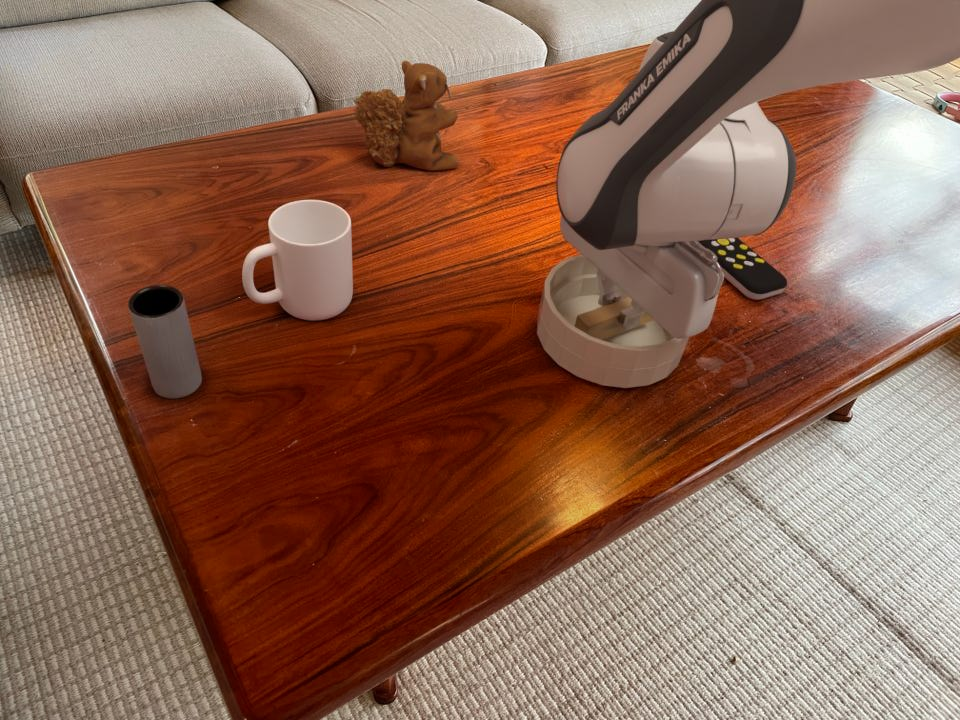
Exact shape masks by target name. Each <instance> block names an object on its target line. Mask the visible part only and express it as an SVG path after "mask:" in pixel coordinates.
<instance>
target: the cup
mask: <svg viewBox="0 0 960 720" xmlns="http://www.w3.org/2000/svg"><path fill="white" fill-rule="evenodd" d="M267 226H268V234H269V235H268V236H269V242H270V243H269V242H268V243H265V244H262V245H259V246H255V247H254V248H253V249H251V250H250V251H249V252H248V253H247V255H246V256H245V258H244V261H243V265H242V271H241V276H242V277H241V278H242V279H241V280H242V286H243V289H244V292H245V294H246V295H247V297H248V299H250V300H252V301H253V302H254V303H257V304H261V305H262V304H263V305H266V304H267V305H268V304H274V303H277V302H278V303H279V305H280V306H281V308H282V309H283V310H284V311H285V312H286V313H287V314H289V315H290V316H292V317H294V318H296V319H301V320H305V321H324V320H328V319H332V318H334V317H336V316H338V315H340V314H342V313H343V312H344V311H345V310H346V309H347V308H348V307H349V306H350V303H351V302H352V300H353V295H354V294H353V293H354V278H353V243H352V242H353V241H352V240H353V239H352V237H353V236H352V219H351V216H350V215H349V213H348V212H347V211H346V210H345V209H344V208H342V207H341V206H339V205H337V204H335V203H333V202H330V201H325V200H320V199H302V200H295V201H291V202H288V203H285V204H283V205H281V206H279V207H277V208H276V209H275V210H274V211H272V213H271V214H270V215H269V218H268V222H267ZM269 257H271V258H272V259H271V260H272V268H273V275H274V285H275V289H273V290H269V291H267V292H260V291H258V290H257V289H256V286H255V283H254V270H255V266H256V264H257V262H259V260H261V259H264V258H269Z"/></svg>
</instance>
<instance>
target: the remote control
mask: <svg viewBox="0 0 960 720" xmlns="http://www.w3.org/2000/svg"><path fill="white" fill-rule="evenodd" d="M698 242H699V243H700V244H701V245H702V246H704V247H705V248H706V249H709V250H711V251H712V252H713V253H714V254H715V255H716V256H717V258H718V259H717V262H718V263H719V265H720V267H721V269H722V272H723V273H724V279H725V280H727V281H728V282H729V283H730V284H731V285H732V286H734V287H735V288H736V289H737V290H738V291H739V292H740V293H742V294H743V295H744V296H745V297H746V298H747V299H750V300H753V301H760V300H763V299H767V298H770V297H773V296H774V297H775V296H777V295H781V294H782V293H783V292H785V290H786V289H787V286H788V280H787V278H786V277H785V275H784V274H782V273H781V272H780V271H779V270H777V269H776V268H775V267H774V266H773V265H772V264H770V263H769V262H768V261H767V260H765V258H763V257H761V255H759V254H758V253H757V252H756V251H755V250H753V249H752V247H750V246H748V245H747V244H746V243H745V242H744V241H743V240H742V239H741V238H729V239H712V240H701V241H698Z"/></svg>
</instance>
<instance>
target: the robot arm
mask: <svg viewBox="0 0 960 720" xmlns="http://www.w3.org/2000/svg"><path fill="white" fill-rule="evenodd" d="M675 28H676V29H674V30H673V31H668V32H665V33H662V34H660V35H658V36H657V37H655V38H654V39H653V40H652V42H651V43H650V45H648V46H649V47H648V48H647V50H646V52H645V54H644V57H643V59H642V61H641V64H640V66H639V68H638V71H637V73H636V74H635V76H634V77H633V78H632V79H631V80H630V81H629V83H628V84H627V85H626V86H625V87H624V88H623V90H622V91H621V92H620V93H619V94H618V95H617V96H616V97H615V99H614V100H613V101H612V102H611V103H610V104H608V105H607V106H606V107H605V108H603V109H602V110H600V111H598V112H596V113H594V114H593V115H591V116H590V117H589V118H588V119H587V120H585V122H583V124H582V125H580V126H579V127H578V129H576V131H575V132H574V133H573V135H572V136H571V137H570V139H568V141H567V143H566V144H565V146H564V148H563V150H562V152H561V155H560V158H559V162H558V166H557V171H556V183H555V187H556V188H555V189H556V191H555V192H556V201H557V206H558V209H559V213H560V221H559V228H560V233H561V236H562V238H563V239H564V240H565V241H566V242H567V243H568V244H569V245H570V246H571V247H573V248H574V249H575V250H576V251H577V252H578V253H579V254H582V255H583V256H584V257H585V258H586V259H587V260H589V261H590V262H591V263H592V264H593V265H594V266H595V267H596V268H597V269H598V271H597V279H598V284H599V289H600V292H601V293H600V297H599V300H598V304H599V305H601V306H605V305H608V304H611V303H614V302H617V301H619V300H620V299H621V295H620V294H619V293H618V292H617V286H618V287H619V288H620V289H621V290H622V291H623V292H624V293H625V294H627V295H628V296H629V297H630V298H631V299H632V301H631V307H628V309H623V310H620V313H619V318H618V322H619V323H620V324H621V325H622V326H623V327H624V328H625V329H626V330H629V329H632V328H634V327H636V326H637V325H638V323H639V320H640V317H641V315H642V314H644V313H645V312H647V313H648V314H649V315H650V316H651V317H652V318H653V319H655V320H656V321H657V322H658V323H659V324H660V325H661V326H662V327H663V328H665V329H666V330H667V331H668V332H669V333H670V334H671V335H672V336H674V337H675V338H676V339H683V338H688V337H689V338H691V337H694V336H696V335H698V334H701V333H703V332H704V331H706V330H707V329H708V328H709V326H710V324H711V322H712V319H713V317H714V312H715V309H716V306H717V302H718V297H719V293H720V291H721V288H722V285H723V283H724V280H725V277H724V273H723V272H722V269H721V267H720V265H719V263H718V262H717V259H718V258H717V256H716V255H715V254H714V253H713V252H712V251H711V250H709V249H706V248H705V247H704V246H702V245H701V244H700V243H699V242H698V241H701V240H712V239H729V238H739V239H741V238H748V237H752V236H753V237H755V236H760V235H762V234H763V233H765V232H767V231H768V230H769V229H770V228H771V227H772V226H773V225H774V224H775V223H776V222H777V221H778V220H779V219H780V217H781V216H782V214H783V212H784V211H785V209H786V208H787V205H788V203H789V201H790V198H791V196H792V193H793V190H794V187H795V181H796V176H797V168H798V167H797V166H798V164H797V163H798V162H797V157H796V153H795V150H794V147H793V145H792V143H791V141H790V139H789V138H788V137H787V135H786V134H785V132H784V131H783V130H782V129H781V128H780V127H779V126H778V124H776V123H775V122H773V121H772V120H770V119H769V118H767V116H766V115H765V113H764V112H763V110H762V109H761V107H760V105H759V103H758V102H760V101H763V100H766V99H769V98H772V97H775V96H779V95H783V94H787V93H791V92H796V91H801V90H805V89H811V88H816V87H822V86H826V85H833V84H839V83H840V84H841V83H846V82H847V83H848V82H854V81H861V80H868V79H877V78H884V77H892V76H899V75H908V74H913V73H918V72H923V71H929V70H933V69H935V68H939V67H942V66H945V65H947V64H949V63H952V62H954V61H956V60H959V59H960V0H700V1H699V2H698V3H697V4H696V5H695V7H693V9H691V11H690V12H689V13H688V15H687V16H685V18H684V19H683V21H681V22H680V24H679V25H678V26H677V27H675Z"/></svg>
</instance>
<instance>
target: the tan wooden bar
mask: <svg viewBox="0 0 960 720" xmlns="http://www.w3.org/2000/svg"><path fill="white" fill-rule="evenodd" d="M631 301H632V299H631V298H630V297H628V298H625V299H622V300H619V301H617V302H614V303H611V304H608V305H605V306H602V307H600V308H597V309H594V310H591V311H588V312H585V313H583V314H580V315H577V319H576V322H575V326H574V327H576V328H578V329H579V330H581V331H583V332H585V333H586V334H588V335H590V336H592V337H595V338H598V339H601V340H603V339H606V338H609V337H611V336H614V335H617V334H619V333H622V332H624V331H627V330H626V329H625V328H624V327H623V326H622V325H621V324H620V323H619V322H618V318H619V313H620V310H623V309H628V307H631ZM652 320H653V318H652V317H651V316H650V315H649V314H648V313H647V312H645V313H644V314H642V315H641V317H640V320H639V323H638V325H637V326H636V327H638V326H640V325H643V324H646V323H648V322H651V321H652ZM634 328H635V327H634ZM629 330H630V329H629Z"/></svg>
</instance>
